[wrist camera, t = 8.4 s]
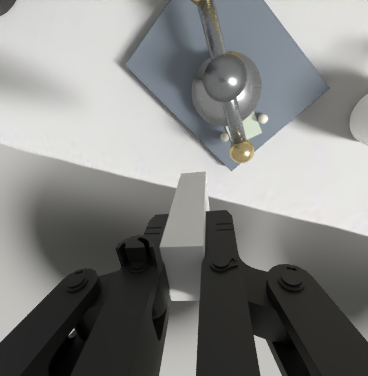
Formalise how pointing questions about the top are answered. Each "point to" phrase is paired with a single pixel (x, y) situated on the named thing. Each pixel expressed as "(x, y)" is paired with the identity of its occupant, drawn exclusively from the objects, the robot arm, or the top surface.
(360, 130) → the cup
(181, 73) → the stand
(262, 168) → the top surface
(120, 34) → the top surface
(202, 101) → the grey lever with knob
